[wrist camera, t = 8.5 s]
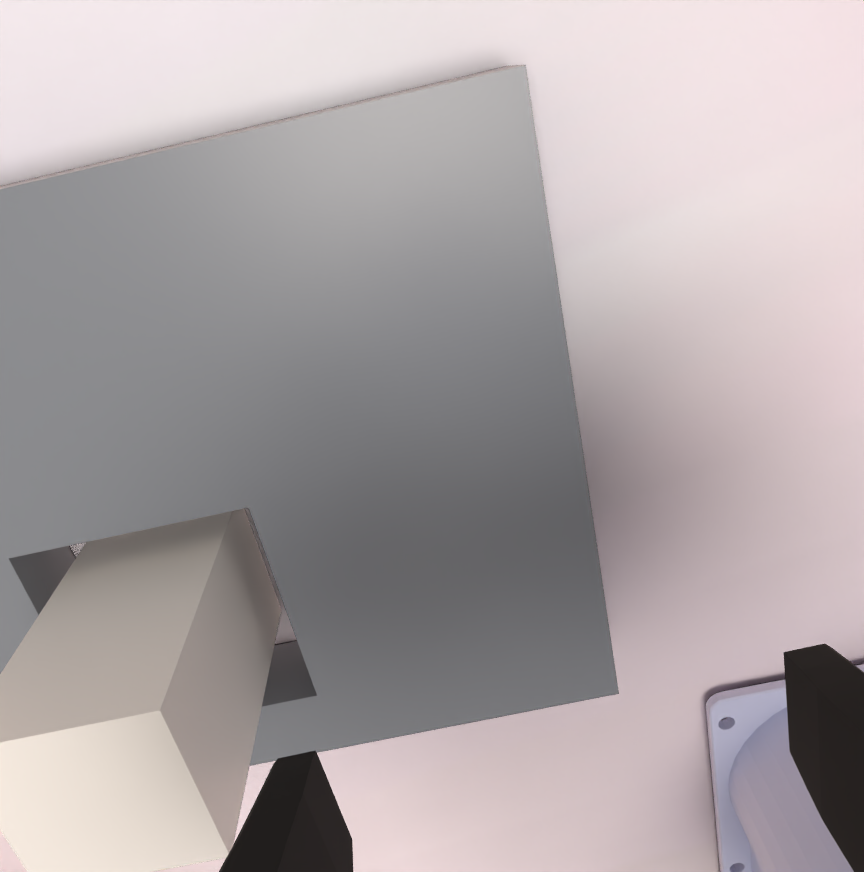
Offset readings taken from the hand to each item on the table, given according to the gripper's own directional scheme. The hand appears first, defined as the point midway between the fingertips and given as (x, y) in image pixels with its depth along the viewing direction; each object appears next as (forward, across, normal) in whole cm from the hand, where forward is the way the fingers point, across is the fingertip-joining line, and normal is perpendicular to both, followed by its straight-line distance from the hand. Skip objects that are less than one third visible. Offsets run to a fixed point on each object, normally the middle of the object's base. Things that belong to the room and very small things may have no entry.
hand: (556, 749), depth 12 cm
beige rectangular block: (+10, +9, +1) cm, 14 cm away
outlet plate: (+10, +6, -1) cm, 12 cm away
